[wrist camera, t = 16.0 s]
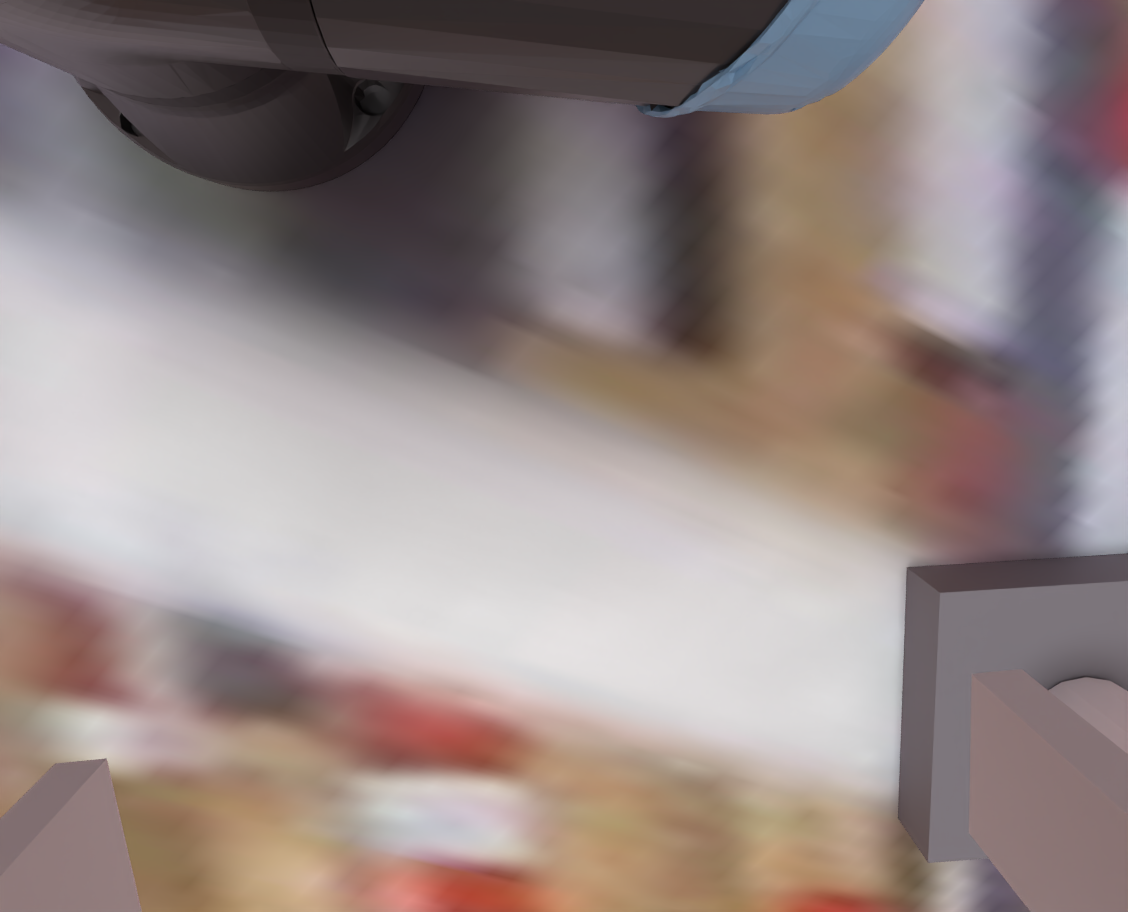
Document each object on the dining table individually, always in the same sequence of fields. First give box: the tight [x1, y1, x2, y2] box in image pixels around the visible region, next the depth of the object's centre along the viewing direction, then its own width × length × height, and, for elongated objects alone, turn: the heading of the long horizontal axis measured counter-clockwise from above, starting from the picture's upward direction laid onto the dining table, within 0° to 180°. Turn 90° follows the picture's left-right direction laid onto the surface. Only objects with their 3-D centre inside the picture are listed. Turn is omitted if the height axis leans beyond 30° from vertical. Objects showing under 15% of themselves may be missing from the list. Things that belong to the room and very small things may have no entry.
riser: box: [898, 554, 1128, 863], centre depth 41 cm, size 14×14×4 cm
